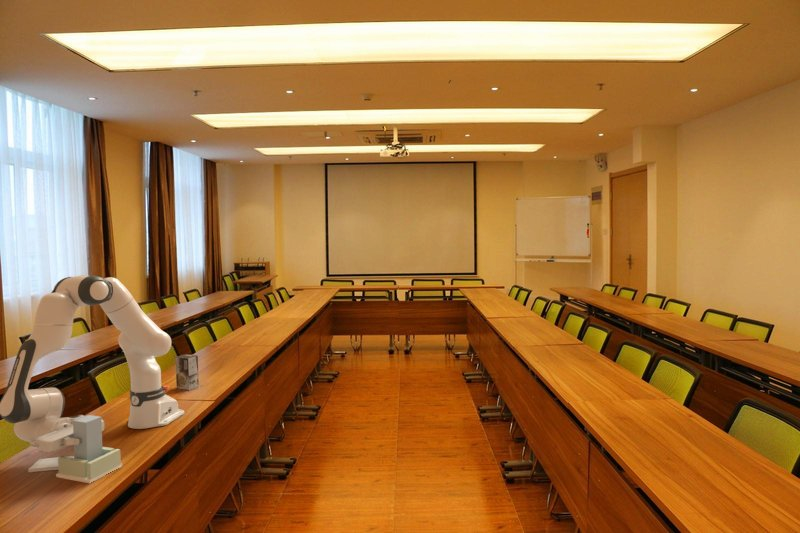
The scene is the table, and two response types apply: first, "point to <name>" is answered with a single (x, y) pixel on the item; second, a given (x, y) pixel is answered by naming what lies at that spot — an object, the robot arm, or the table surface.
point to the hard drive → (45, 464)
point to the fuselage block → (88, 437)
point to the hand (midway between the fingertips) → (90, 437)
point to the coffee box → (187, 371)
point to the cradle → (89, 466)
